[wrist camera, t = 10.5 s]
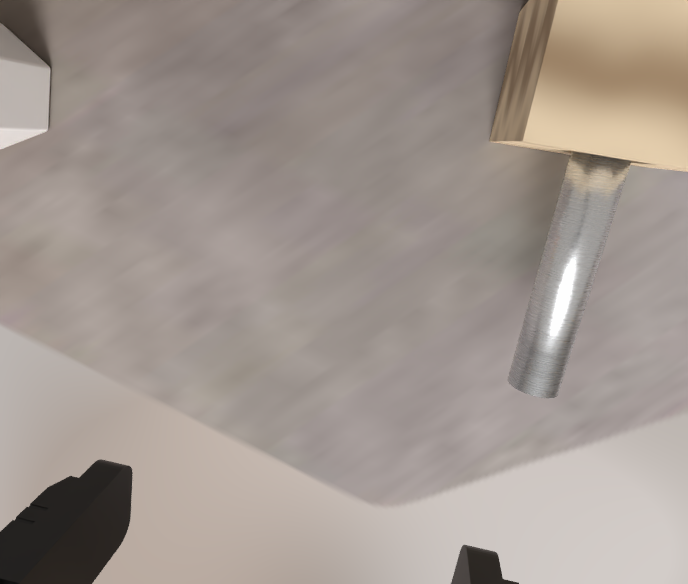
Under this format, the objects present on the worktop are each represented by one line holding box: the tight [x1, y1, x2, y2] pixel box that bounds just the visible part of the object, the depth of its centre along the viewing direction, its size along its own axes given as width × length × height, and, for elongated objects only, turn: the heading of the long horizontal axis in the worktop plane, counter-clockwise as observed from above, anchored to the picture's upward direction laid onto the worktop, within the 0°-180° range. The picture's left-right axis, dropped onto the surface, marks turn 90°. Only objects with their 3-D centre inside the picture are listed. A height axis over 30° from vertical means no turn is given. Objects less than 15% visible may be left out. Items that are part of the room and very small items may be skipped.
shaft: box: [508, 151, 631, 398], centre depth 29 cm, size 19×3×3 cm, turn 171°
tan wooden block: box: [489, 0, 688, 172], centre depth 28 cm, size 8×10×12 cm
